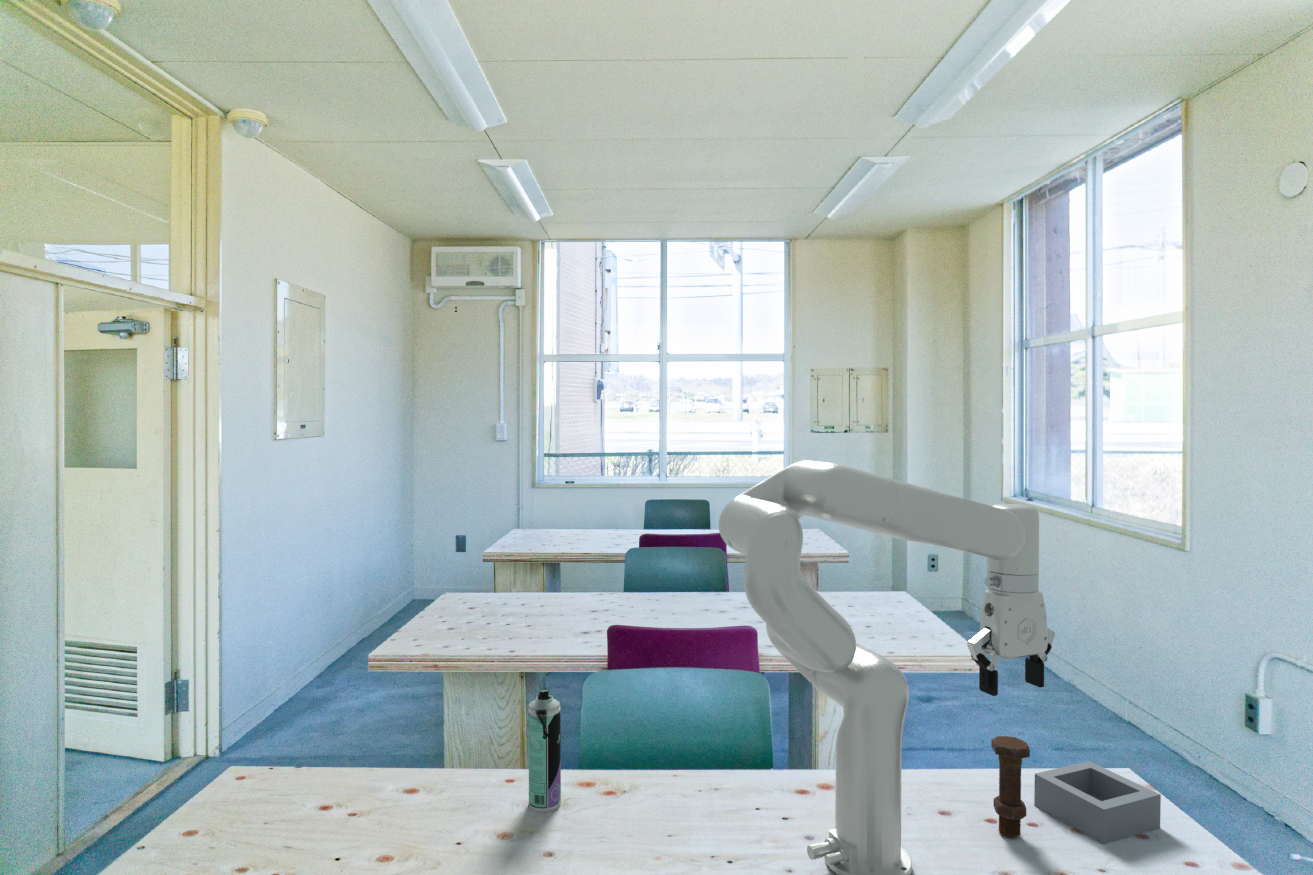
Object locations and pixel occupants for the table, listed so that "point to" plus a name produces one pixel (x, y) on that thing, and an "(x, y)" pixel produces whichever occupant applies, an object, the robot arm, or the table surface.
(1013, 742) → the bolt
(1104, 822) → the socket block
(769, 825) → the table surface
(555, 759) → the spray can
